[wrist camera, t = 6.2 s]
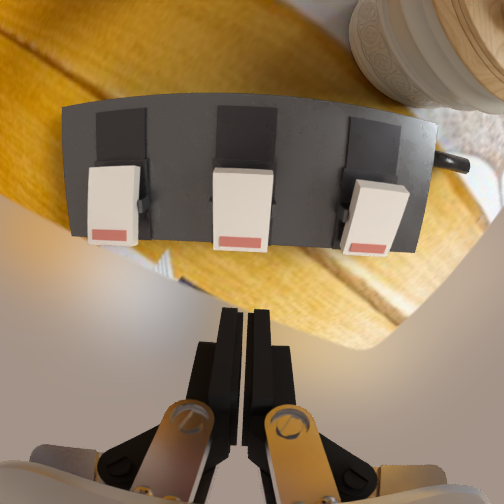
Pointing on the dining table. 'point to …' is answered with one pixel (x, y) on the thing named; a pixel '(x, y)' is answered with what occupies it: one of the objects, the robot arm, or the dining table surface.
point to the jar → (432, 51)
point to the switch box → (251, 160)
